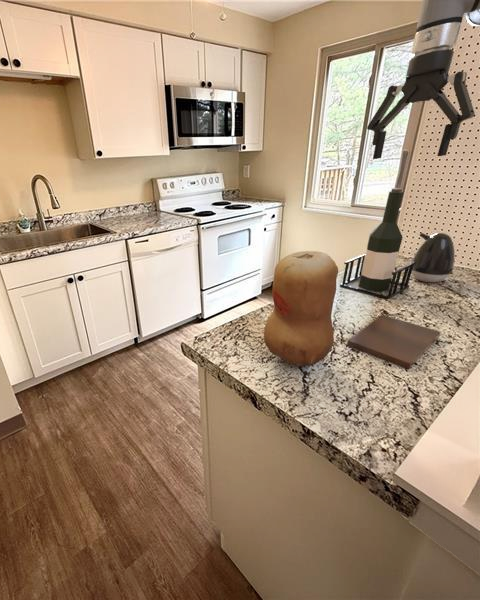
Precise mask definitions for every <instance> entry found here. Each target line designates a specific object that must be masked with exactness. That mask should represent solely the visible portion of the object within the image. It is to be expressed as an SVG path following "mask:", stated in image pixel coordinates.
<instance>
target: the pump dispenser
mask: <svg viewBox="0 0 480 600" xmlns="http://www.w3.org/2000/svg"><path fill="white" fill-rule="evenodd" d="M419 237H420V238H422V239H423V240H425V241H424V242H423V243H422V244H421V245H420V247H419V248H418V249H417V251H416V253H415V254H414V256H413V258H412V259H411V262H410V263H412V262H416V264H415V265H414V266H413V269H412V273H411V276H412V277H413V278H414V279H416V280H417V281H420V282H424V283H438V282H442V281H444V280H445V279H447V278H448V277H449V276H450V275H451V274H452V273H453V271H454V267H455V262H456V261H455V260H456V259H455V258H456V251H455V244H454V241H453V238H452V237H451V236H450V235H449V234H447V233H444V232H438V233H434V234H432V235H427V234H425V233H423V232H421V233H420V234H419Z"/></svg>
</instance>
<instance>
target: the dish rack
mask: <svg viewBox="0 0 480 600" xmlns="http://www.w3.org/2000/svg"><path fill="white" fill-rule="evenodd" d="M365 254H366V253H364V254H361V255H358V256H356V257H354V258H351V259H349V260H346V261H344V263H343V264H344V265H345V267H344V273H343V277H342V282H341V283H339V287H340V288H344V289H347V290H349V291H354V292H358V293H361V294H365V295H368V296H372V297H375V298H378V299H383V300H390V299H391V298H393V297H395V296H397V295H398V294H400V293H402V292H404V291H406V290H407V289H410V284H409V282H410V279H411V276H412V269H413V266H414V265H415V264H416V262H412V261H411V262H412V263H411V262H410V263H408V264H407V265H404V266H402V267H400V268H398V269H396V270H394V272H392V279H391V283H390V287H389V290H388V293H387V295H384V294H380V293H378V292H374V291H367V290H365V289H362V288H360V287H355V286H351V285H349V284H350V283H353V282H355V281H357V280H360V277H361V272H362V268H363V263H364V259H365ZM355 261H357V264H356V267H355V268H356V269H355V273H354V277H352V274H353V268H354V263H355ZM403 271H404V272H403ZM402 272H403V276H402ZM401 276H402V279H401ZM400 279H401V281H400ZM398 287H399V288H398Z"/></svg>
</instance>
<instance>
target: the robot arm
mask: <svg viewBox="0 0 480 600" xmlns="http://www.w3.org/2000/svg"><path fill="white" fill-rule="evenodd" d="M464 15H465V20H466V22H467V23H468V24H469V25H470V26H473V27H480V0H421V5H420V10H419V15H418V19H417V24H416V29H415V35H414V38H413V43H412V48H411V52H410V55H411V56H412V58H411V59H410V60H409V61H408V66H407V69H406V74H405V81H404V83H403V85H390V86H389V87H388V89H387V91H386V96H385V97H384V99H383V101H382V102H381V104H380V105H379V107H378V109H377V111H376V112H375V114H374V115H373V117H372V118H371V120H370V121H369V123H368V125H367V127H366V129H367V130H368V131H373V138H372V143H371V144H372V146H374V151H373V156H372V160H377V159H379V160H380V159H381V158H382V157H383V156H382V155H383V150H384V146H385V141H386V137H387V130H385V128H386V127H388V126H389V125H390V123H392V121H393V120H394V119H396V118H397V116H398V115H399V114H400V113H401V112H402V111H403V110H404V109H405V108H406V107H407V106H408V105H410V104H418V103H421V102H430V101H431V100H433V101H434V102H435V104H436V105H437V106H438V107H439V109H440V110H441V112H443V114H445V116H446V117H447V119H448V121H450V122H449V124H448V123H447V124H445V126H444V129H443V132H442V137H441V141H440V144H439V147H438V152H437V157H443V156H447V153H448V150H449V148H450V147H449V146H450V142H451V140H455V139H457V136H458V134H459V131H460V127H461V125H462V123H463V122H465V121H467V120H470V119H472V118H474V117H475V115H476V113H475V110H474V106H473V103H472V99H471V97H470V93H469V91H468V87H467V84H466V83H467V82H466V81H467V77H468V76H467V75H468V73H467V72H466V71H458V72H456V73H455V74H450V75H449V71H450V68H451V64H452V61H453V58H454V53H455V51H454V49H453V48H455V47H456V45H457V43H458V38H459V34H460V31H461V26H462V23H463V18H464ZM447 84H450V85H451V86H453V91H454V93H455V96H456V99H457V104H458V106H459V110H460V113H461V114H460V113H459V111H458V110H457V108H456V107H455V106H454V104H453V103H451V101H450V100H449V98H448V97H447V95H446V94H445V92H444V91H443V89H444V88H445V87H446V86H447ZM401 92H402V94H403V96H402V97H401V98H400V99H399V100H398V102H397V103H396V105H394V107H393V108H392V109H391V110H390V111H389V112H388V110H389V109H390V107H391V106H392V104H393V103H394V101H395V100H396V97H397V96H399V95H400V93H401ZM387 112H388V113H387Z"/></svg>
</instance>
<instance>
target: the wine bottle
mask: <svg viewBox="0 0 480 600" xmlns="http://www.w3.org/2000/svg"><path fill="white" fill-rule="evenodd" d="M404 192H405V191H403V187H393V188H391V191H388V195H387V199H386V204H385V209H384V212H383V217H382V220H381V222H379V224H377V226H376V227H375V228H374V229H373V230H372V231H371V232H370V233H369V236H368V241H367V244H366V245H367V246H366V250H365V253H364V254H365V259H364V263H363V268H362V272H361V277H360V278H359V282H358V288H359V289H362V290H366V291H370V292H374V293H382V292H387V291H388V292H389V288H390V285H391V281H392V277H393V275H392V272H394V271H395V267H396V263H397V260H398V256H399V253H400V249H401V246H402V241H403V235H402V232H401V230H400V227H399V226H398V223H397V221H398V216H399V214H400V213H399V212H400V208H401V204H402V201H403V196H404Z"/></svg>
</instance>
